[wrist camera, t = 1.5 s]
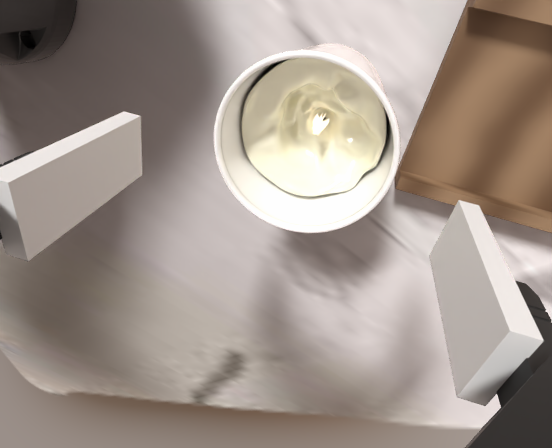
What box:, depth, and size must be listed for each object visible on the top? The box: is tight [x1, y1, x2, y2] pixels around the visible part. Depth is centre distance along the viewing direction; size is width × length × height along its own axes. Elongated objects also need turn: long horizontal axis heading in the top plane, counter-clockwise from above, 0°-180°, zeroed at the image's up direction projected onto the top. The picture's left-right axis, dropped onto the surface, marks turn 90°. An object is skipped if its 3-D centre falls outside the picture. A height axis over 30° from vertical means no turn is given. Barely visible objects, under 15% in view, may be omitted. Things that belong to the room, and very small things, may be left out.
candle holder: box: [214, 43, 401, 233], centre depth 24 cm, size 10×10×12 cm
